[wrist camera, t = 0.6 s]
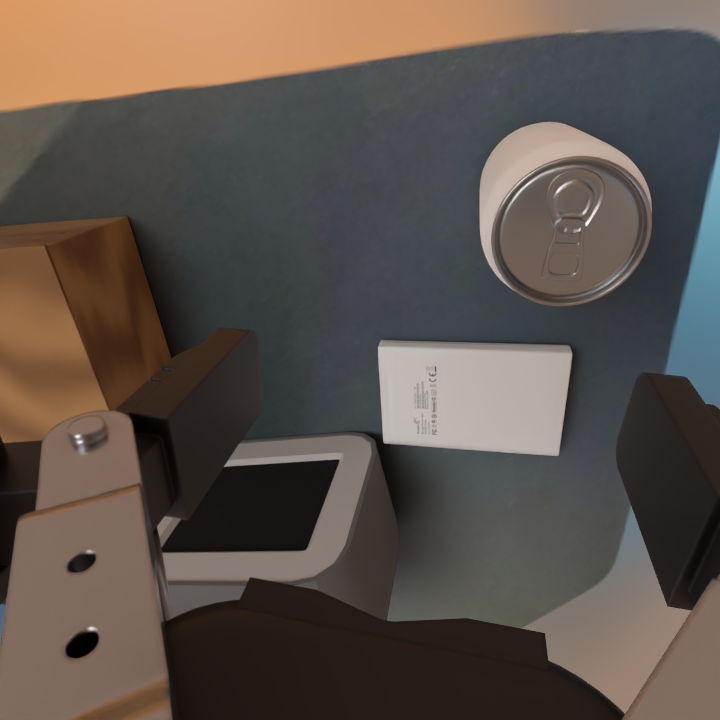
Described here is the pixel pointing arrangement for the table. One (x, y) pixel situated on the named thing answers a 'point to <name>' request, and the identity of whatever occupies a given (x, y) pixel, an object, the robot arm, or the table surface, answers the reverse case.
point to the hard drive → (474, 395)
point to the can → (562, 214)
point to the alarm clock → (289, 525)
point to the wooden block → (72, 323)
